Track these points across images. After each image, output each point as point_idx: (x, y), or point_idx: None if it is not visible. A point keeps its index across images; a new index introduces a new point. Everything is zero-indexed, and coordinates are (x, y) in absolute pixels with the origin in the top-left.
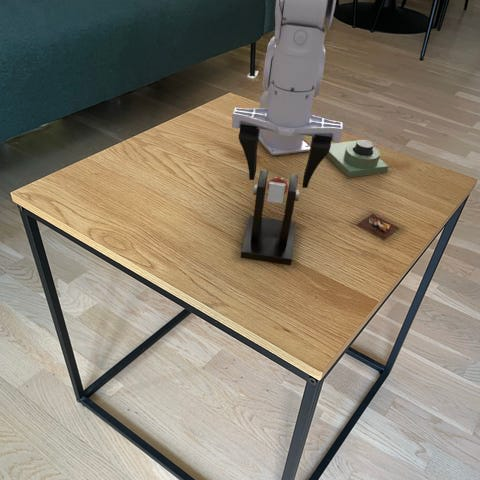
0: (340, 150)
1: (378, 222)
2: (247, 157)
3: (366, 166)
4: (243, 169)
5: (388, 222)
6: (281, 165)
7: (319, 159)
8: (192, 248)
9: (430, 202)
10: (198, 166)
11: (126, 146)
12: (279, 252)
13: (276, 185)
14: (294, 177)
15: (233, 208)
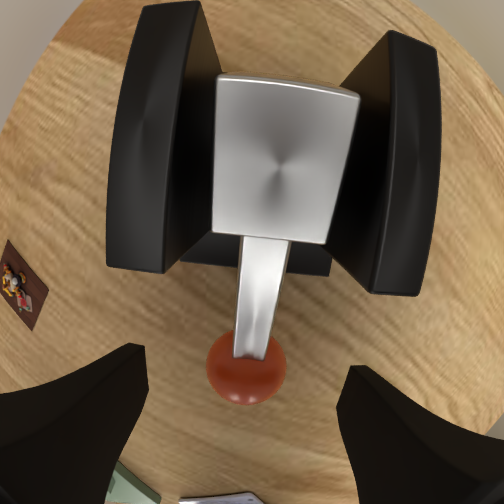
0: (125, 492)
1: (12, 288)
2: (436, 417)
3: None
4: (315, 457)
5: (8, 301)
6: (230, 475)
7: (7, 399)
8: (449, 135)
9: None
10: None
11: (483, 433)
12: None
13: (297, 82)
14: (131, 212)
15: (361, 322)
